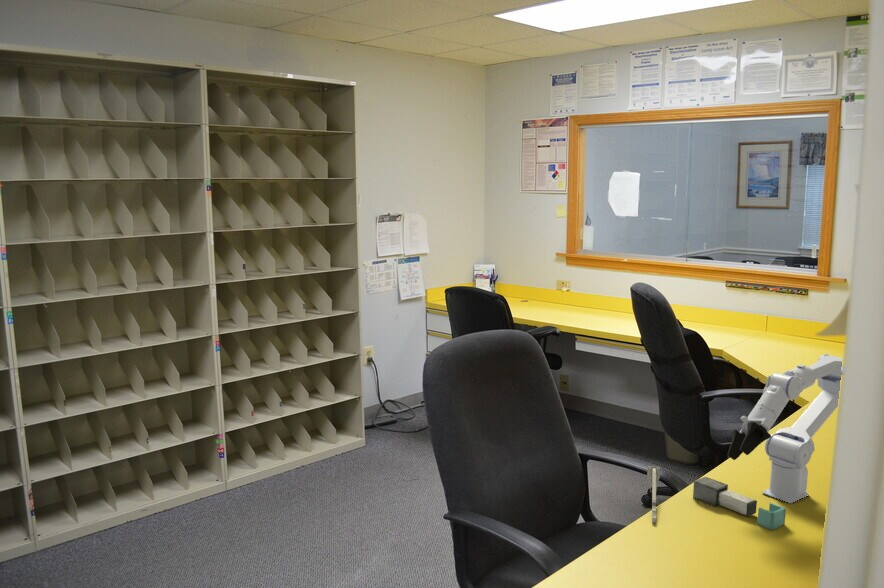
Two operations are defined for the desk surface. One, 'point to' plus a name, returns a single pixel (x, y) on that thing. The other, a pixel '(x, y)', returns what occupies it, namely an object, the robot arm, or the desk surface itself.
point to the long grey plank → (736, 502)
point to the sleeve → (707, 490)
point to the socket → (771, 517)
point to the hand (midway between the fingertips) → (737, 454)
